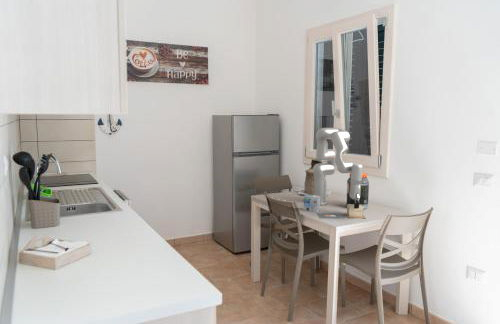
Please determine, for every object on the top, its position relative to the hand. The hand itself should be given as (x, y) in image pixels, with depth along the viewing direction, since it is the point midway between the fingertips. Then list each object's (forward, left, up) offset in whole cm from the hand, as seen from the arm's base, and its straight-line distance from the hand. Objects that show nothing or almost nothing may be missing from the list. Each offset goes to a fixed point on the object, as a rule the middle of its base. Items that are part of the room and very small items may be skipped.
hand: (354, 206), depth 266 cm
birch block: (+1, 0, -6) cm, 6 cm away
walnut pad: (+1, 0, -7) cm, 7 cm away
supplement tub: (-25, +9, -7) cm, 28 cm away
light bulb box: (-15, -27, -7) cm, 32 cm away
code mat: (+1, -17, -7) cm, 18 cm away
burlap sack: (-74, -14, -7) cm, 75 cm away
